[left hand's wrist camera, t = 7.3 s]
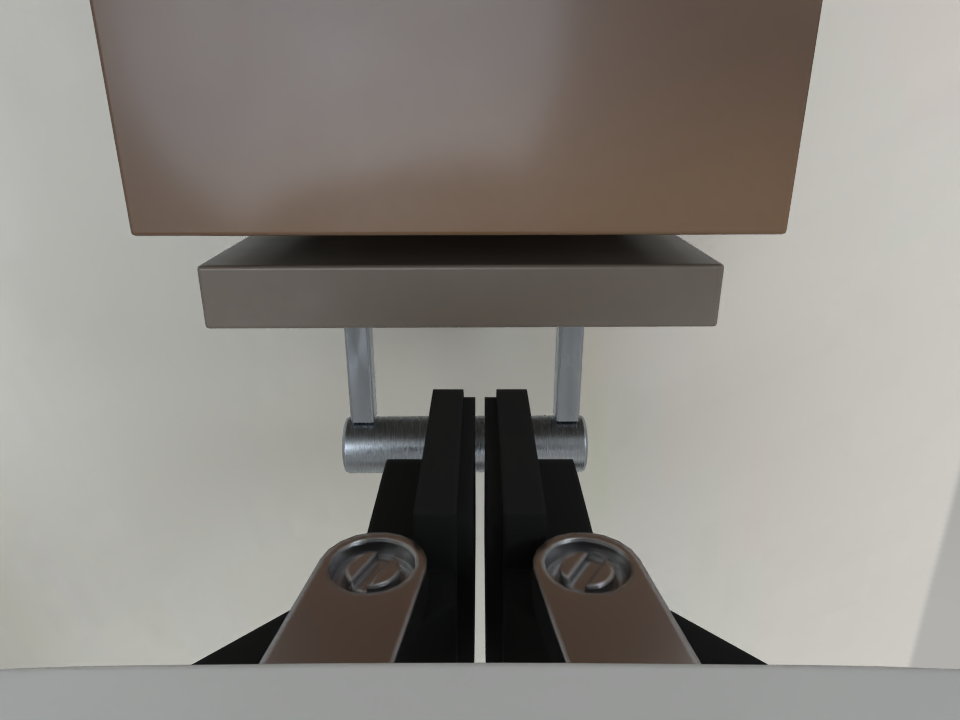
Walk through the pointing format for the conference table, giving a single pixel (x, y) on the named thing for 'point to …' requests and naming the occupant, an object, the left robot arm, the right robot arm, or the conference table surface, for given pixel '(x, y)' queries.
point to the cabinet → (456, 115)
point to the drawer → (459, 308)
